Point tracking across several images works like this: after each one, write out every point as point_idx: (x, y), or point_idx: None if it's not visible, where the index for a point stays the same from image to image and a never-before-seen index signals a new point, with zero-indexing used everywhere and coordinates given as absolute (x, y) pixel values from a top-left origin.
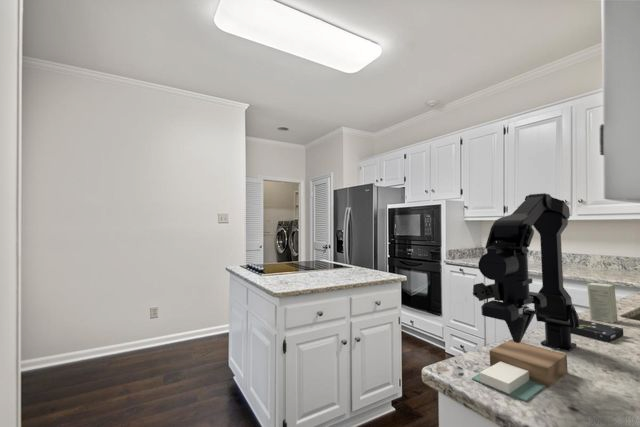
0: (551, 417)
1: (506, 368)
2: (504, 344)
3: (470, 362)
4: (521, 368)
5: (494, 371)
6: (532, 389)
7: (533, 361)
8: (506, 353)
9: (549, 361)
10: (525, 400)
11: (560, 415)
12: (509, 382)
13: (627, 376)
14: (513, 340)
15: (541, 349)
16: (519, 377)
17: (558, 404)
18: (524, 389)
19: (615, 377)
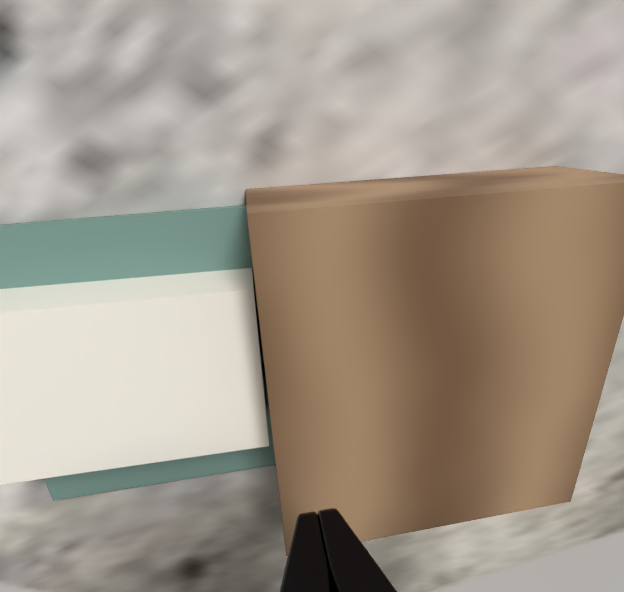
0: (49, 575)
1: (174, 374)
2: (497, 212)
3: (180, 37)
4: (263, 413)
5: (47, 363)
6: (183, 461)
7: (323, 484)
8: (308, 333)
9: (400, 514)
10: (54, 495)
11: (98, 577)
12: (11, 480)
13: (610, 522)
14: (295, 526)
15: (570, 406)
16: (141, 462)
17: (173, 541)
18: None
19: (576, 513)
